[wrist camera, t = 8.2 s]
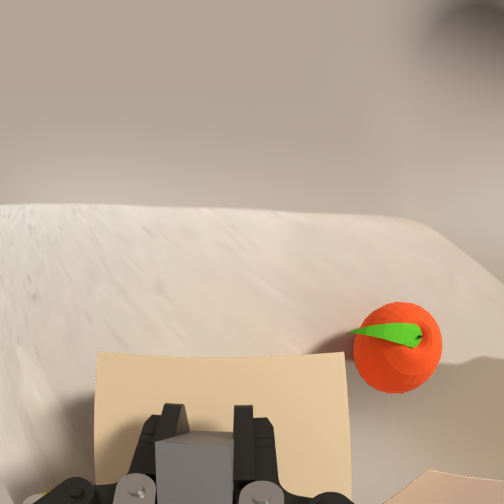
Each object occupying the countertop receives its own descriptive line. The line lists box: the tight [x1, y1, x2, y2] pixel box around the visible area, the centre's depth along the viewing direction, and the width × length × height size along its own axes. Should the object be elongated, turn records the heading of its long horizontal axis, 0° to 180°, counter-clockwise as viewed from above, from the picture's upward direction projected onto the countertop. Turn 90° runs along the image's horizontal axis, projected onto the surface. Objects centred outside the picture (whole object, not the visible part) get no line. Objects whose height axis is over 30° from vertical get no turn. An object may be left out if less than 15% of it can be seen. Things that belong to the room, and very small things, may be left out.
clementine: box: [346, 302, 442, 393], centre depth 21 cm, size 8×7×7 cm
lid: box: [94, 352, 351, 504], centre depth 9 cm, size 12×10×7 cm
